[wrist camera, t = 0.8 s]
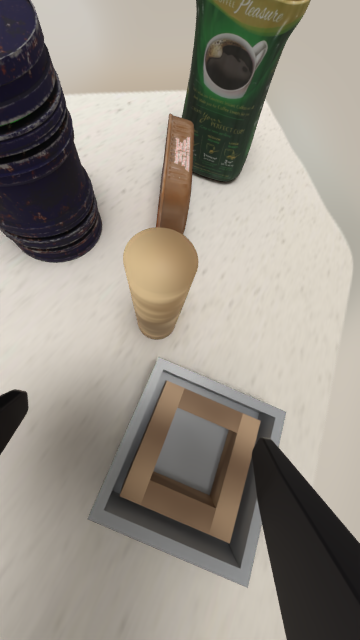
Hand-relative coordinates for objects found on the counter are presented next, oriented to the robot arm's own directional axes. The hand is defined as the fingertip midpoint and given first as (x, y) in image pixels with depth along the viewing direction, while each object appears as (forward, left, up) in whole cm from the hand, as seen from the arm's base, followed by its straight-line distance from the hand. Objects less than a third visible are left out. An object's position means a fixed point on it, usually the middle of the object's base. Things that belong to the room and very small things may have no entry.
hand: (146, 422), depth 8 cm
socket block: (+2, -5, -13) cm, 14 cm away
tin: (+9, +20, -13) cm, 25 cm away
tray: (+2, -5, -13) cm, 14 cm away
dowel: (+3, +7, -13) cm, 15 cm away
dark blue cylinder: (-4, +22, -13) cm, 26 cm away
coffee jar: (+18, +28, -13) cm, 36 cm away
